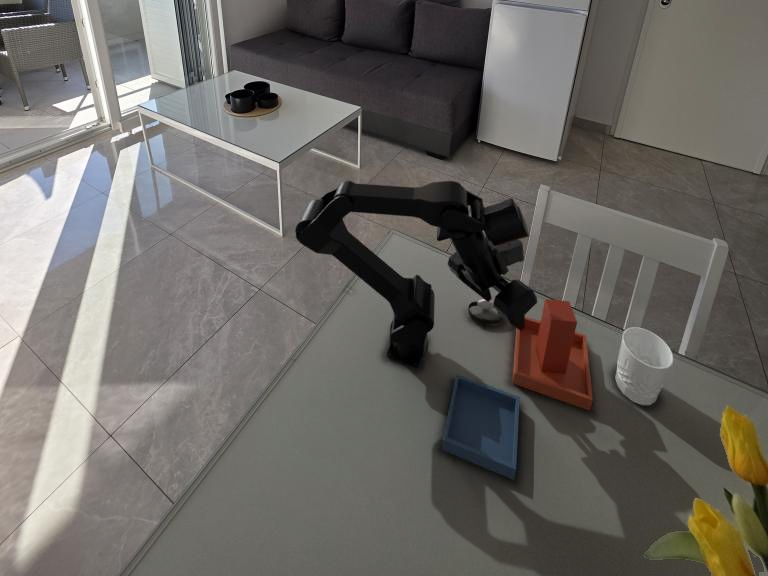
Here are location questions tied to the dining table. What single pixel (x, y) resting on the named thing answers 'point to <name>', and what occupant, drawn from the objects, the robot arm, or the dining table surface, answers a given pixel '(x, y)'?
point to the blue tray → (483, 426)
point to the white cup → (642, 365)
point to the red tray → (559, 386)
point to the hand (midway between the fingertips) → (505, 313)
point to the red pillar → (555, 336)
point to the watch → (484, 305)
